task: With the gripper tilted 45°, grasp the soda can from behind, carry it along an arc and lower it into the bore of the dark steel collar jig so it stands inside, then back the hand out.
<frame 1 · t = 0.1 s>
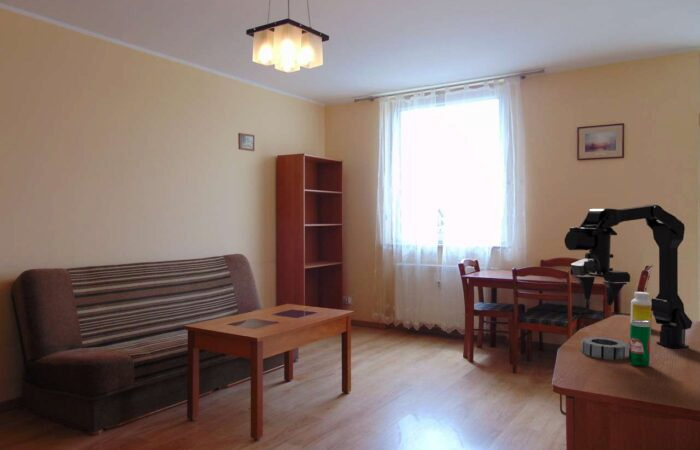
hand: (597, 302, 156), 15 cm above the table, tool pointing down, fingers open, 9 cm apart
supplement bottle: (640, 328, 188), on the table
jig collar: (604, 353, 153), on the table
soda can: (639, 365, 142), on the table
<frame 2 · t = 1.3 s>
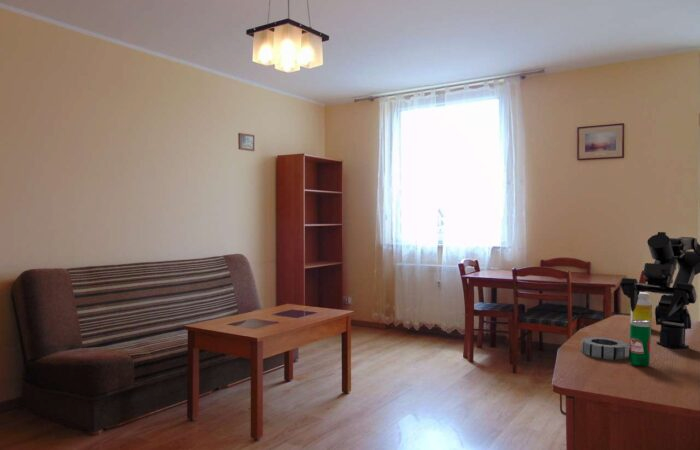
hand: (649, 312, 147), 13 cm above the table, tool tilted 45°, fingers open, 9 cm apart
nothing on the table moved.
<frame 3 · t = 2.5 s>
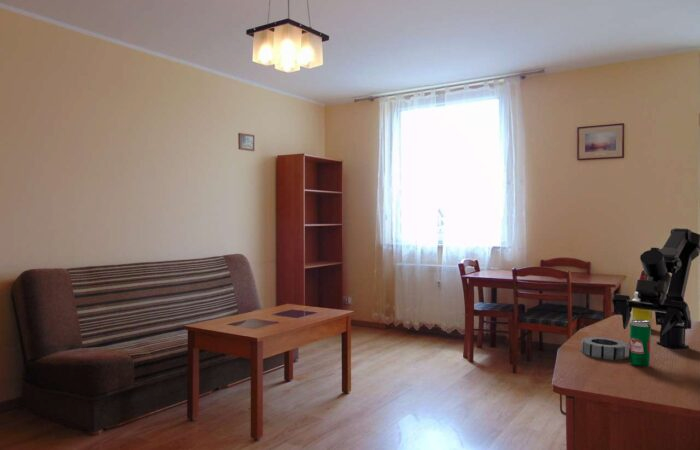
hand: (642, 331, 143), 9 cm above the table, tool tilted 45°, fingers open, 9 cm apart
nothing on the table moved.
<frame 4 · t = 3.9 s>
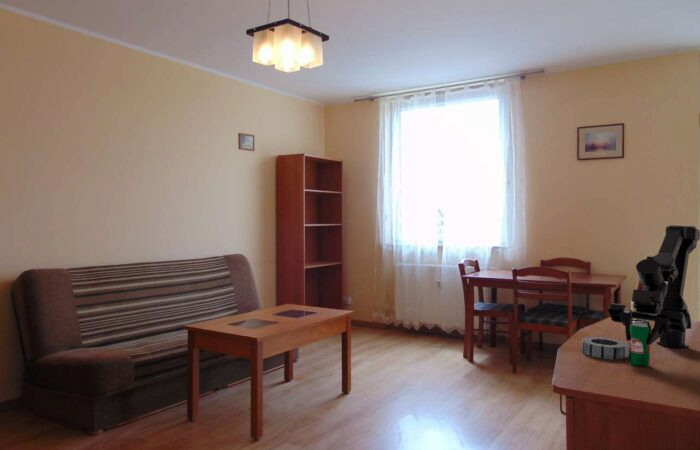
hand: (638, 341, 141), 7 cm above the table, tool tilted 45°, fingers closed on soda can, 5 cm apart
soda can: (639, 365, 142), on the table, touching gripper
everything else where it was.
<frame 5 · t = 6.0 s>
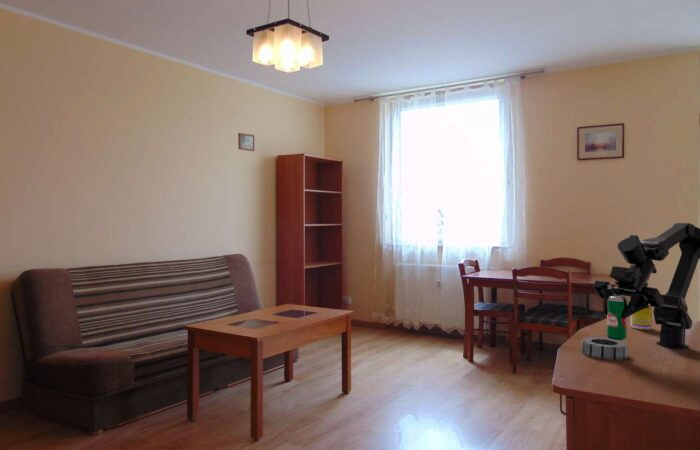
hand: (613, 315, 148), 12 cm above the table, tool tilted 45°, fingers closed on soda can, 5 cm apart
soda can: (616, 339, 149), point 5 cm above the table, touching gripper
everything else where it was.
when the fingers open (8 cm above the table, at t = 8.0 s): soda can drops 1 cm, resting in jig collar.
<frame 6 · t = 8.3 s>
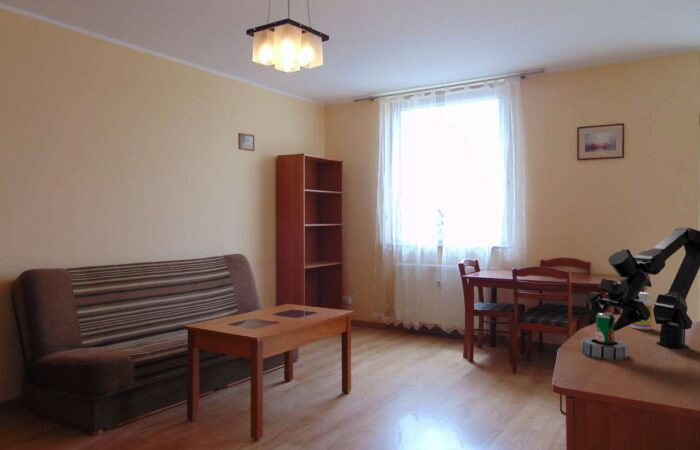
hand: (601, 327, 152), 8 cm above the table, tool tilted 45°, fingers open, 8 cm apart
soda can: (604, 354, 153), resting in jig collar
everything else where it was.
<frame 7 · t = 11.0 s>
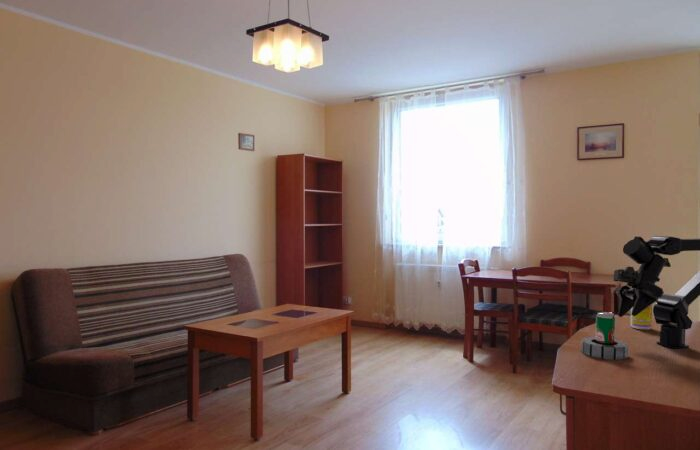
hand: (626, 315, 158), 10 cm above the table, tool tilted 30°, fingers open, 9 cm apart
nothing on the table moved.
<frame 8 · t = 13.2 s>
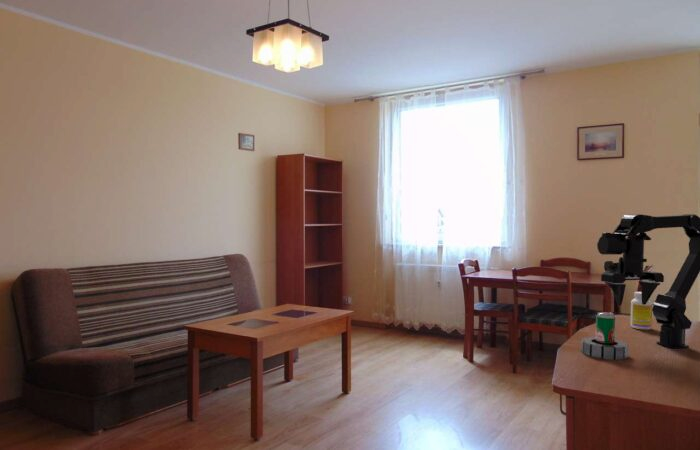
hand: (631, 304, 162), 13 cm above the table, tool pointing down, fingers open, 9 cm apart
nothing on the table moved.
at the end: soda can 0.2 cm off-centre on the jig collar, point 0.0 cm above the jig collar's base; soda can tilted 0°; the gripper is holding nothing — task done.
